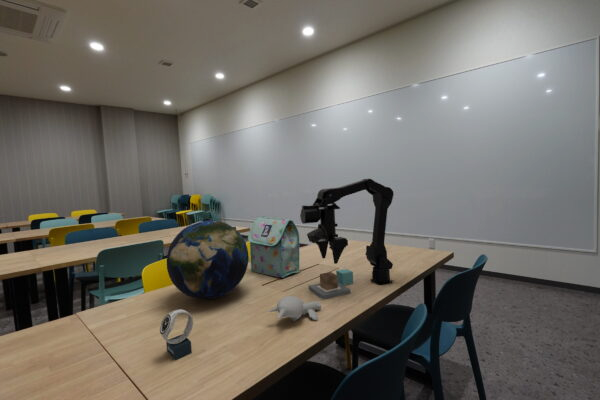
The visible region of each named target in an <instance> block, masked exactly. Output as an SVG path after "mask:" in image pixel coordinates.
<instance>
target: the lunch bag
mask: <svg viewBox="0 0 600 400" xmlns="http://www.w3.org/2000/svg"><path fill="white" fill-rule="evenodd" d="M247 241H248V242H249V247H250V249H249V250H250V251H249V252H250V270H251V272H253V273H258V274H263V275H267V276H272V277H277V278H286V277H288V276H289V275H292V274H297V273H298V274H299V273H300V271H301V269H300V232H299V230H298V228H297V225H296V223H295V222H294V220H292V219H285V218H277V217H266V216H261V217H256V219H255V220H254V222H253V223H252V226H251V228H250V231H249V233H248V236H247Z"/></svg>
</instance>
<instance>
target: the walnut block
mask: <svg viewBox="0 0 600 400" xmlns="http://www.w3.org/2000/svg"><path fill="white" fill-rule="evenodd" d="M319 283H320V287H322V288H323V289H325V290H331V289H335V288H338V280H337V275H336V273H333V272H331V271H328V272H323V273H320V274H319Z"/></svg>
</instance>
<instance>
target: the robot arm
mask: <svg viewBox="0 0 600 400" xmlns="http://www.w3.org/2000/svg"><path fill="white" fill-rule="evenodd" d="M362 191H366V192H367V193H368V194H370V195H371V196H372V202H373V205H374V219H373V227H372V228H373V229H372V230H373V231H372V240H371V243H370V244H369V245H366V247H365V254H364V255H365V257H366V260H367V261H368V262H369V264H370V266H372V271H371V274H372V275H371V277H372V278H370V281H371V282H374V283H376V284H377V285H380V286H381V285H386V284H390V283H393V280H391V278H390V277H391V275H390V273H391V272H390V270H392V269H393V265H394V264H393V262H391V260H390V259H388V252H387V251H388V250H387V248H386V246H385V238H386V228H387V219H388V209H389V207H390V206H391V204H392V202H393V199H394V190H393V189H392V188H391V187H388V186H385V185H384V184H381V183H379V182H376V181H375V180H373V179H372V178H363V179H361V180H358V181H355V182H352V183H349V184H346V185H342V186H340V187H339V186H338V187H331V188H330V187H329V188H322V189H319V191H318V192H317V197H316V199H315V200H314V201H313V204H311V205H302V206H301V209H300V214H299V215H300V217H299V218H300V221H301V223H302V224H303V225H304V224H306V225H307V224H313V223H314V224H315V223H318V222H319V221H320V222H319V223H318V225H317V228H315V229H313V230H311V231H309V232H308V233H307V234H306V236H307V239H308V242H309V243H312V244H316V245H317V246H318V249H319V252H320V255H321V259H326V257H327V252H328V248H329V249H330V250H331V251H332V259H333V263H334V265H337V264H338V262H339V260H340V258H341V256H342V254H343V251H344V249H345V248H347V246H349V241H348V239H347V238H346V237H343V236H339V234H338V233H337V231H336V227H337V228H338V223H336V214H335V213H336V211H335V210H340V209H341V207H340V206H339V205H337V202H338V201H340V200H341V199H342V198H344V197H346V196H350V195H352V194H355V193H359V192H362ZM328 245H329V246H328Z"/></svg>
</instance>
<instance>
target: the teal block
mask: <svg viewBox="0 0 600 400" xmlns="http://www.w3.org/2000/svg"><path fill="white" fill-rule="evenodd" d="M335 272H336V273H335V274H336V275H337V280H338V283H340V284H342V285H344V286H347V285H352V284H354V272H353V271H352V270H350V269H348V268H343V269H338V270H336V271H335Z"/></svg>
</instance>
